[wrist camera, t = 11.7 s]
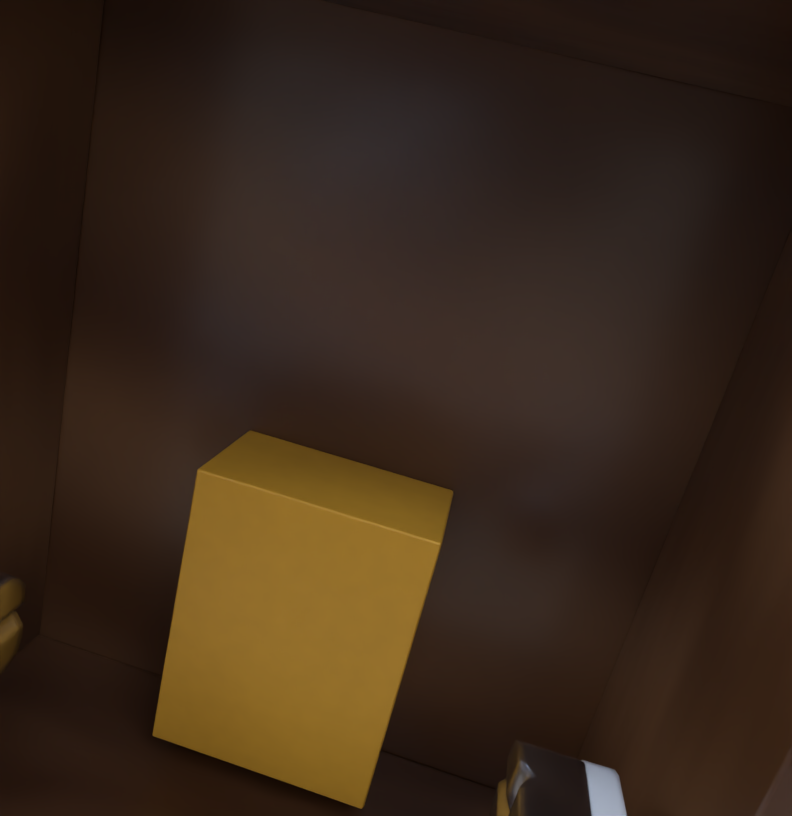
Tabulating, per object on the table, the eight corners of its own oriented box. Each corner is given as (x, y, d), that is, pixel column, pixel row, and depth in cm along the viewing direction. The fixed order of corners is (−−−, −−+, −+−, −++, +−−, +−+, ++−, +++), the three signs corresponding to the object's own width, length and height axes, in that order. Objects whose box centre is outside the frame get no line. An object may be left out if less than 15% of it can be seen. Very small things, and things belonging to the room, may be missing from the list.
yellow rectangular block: (249, 429, 14) (196, 468, 12) (454, 489, 14) (441, 544, 11) (205, 661, 16) (150, 737, 13) (386, 721, 15) (362, 811, 13)
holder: (94, -90, 13) (-322, -413, 6) (886, 85, 11) (1364, -105, 5) (25, 637, 17) (-251, 866, 11) (576, 824, 16) (618, 1208, 10)
